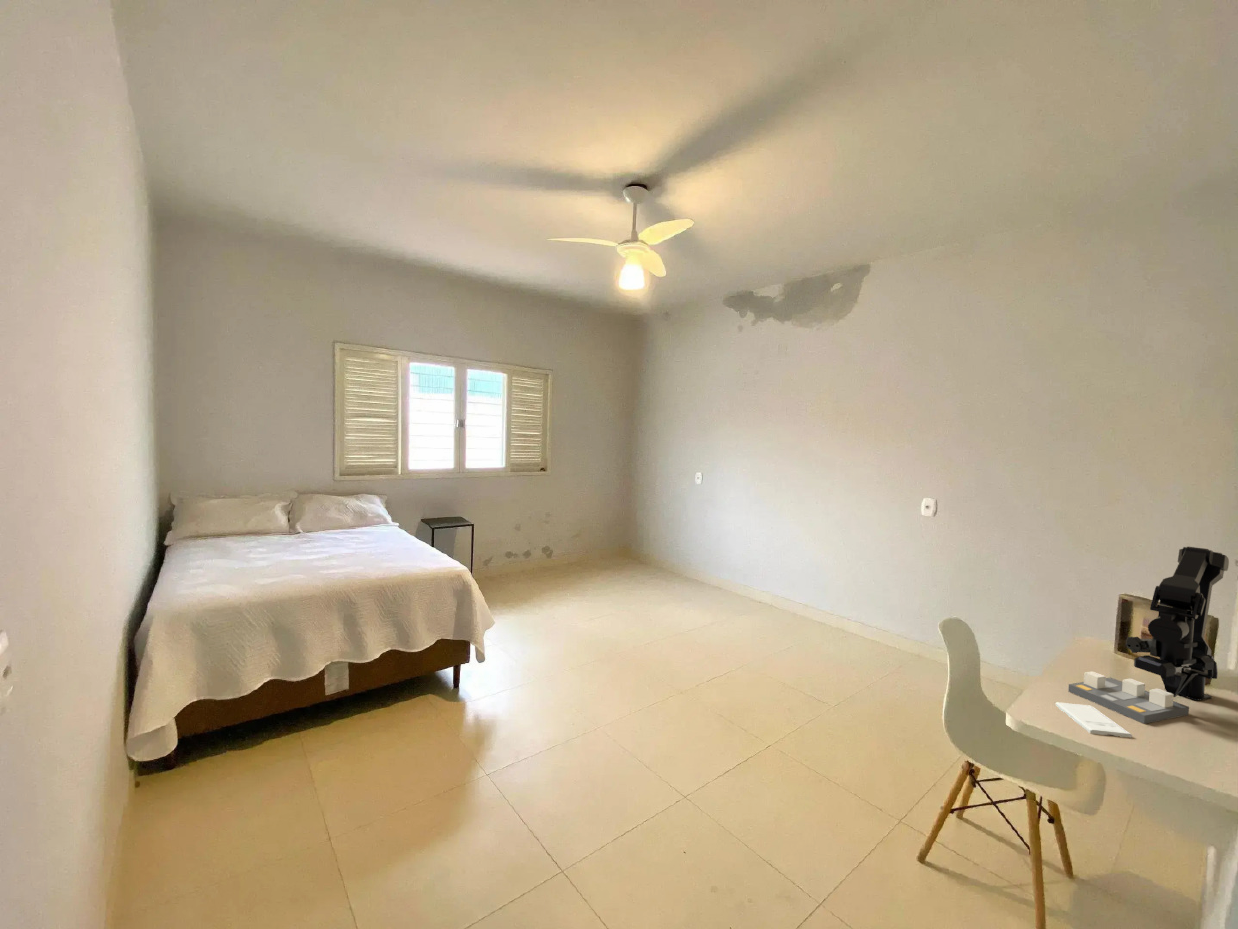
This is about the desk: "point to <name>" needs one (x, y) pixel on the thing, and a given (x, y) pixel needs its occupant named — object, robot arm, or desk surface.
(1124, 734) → the external hard drive
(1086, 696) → the switch panel
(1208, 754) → the desk surface
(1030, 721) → the desk surface
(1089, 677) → the tab
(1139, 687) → the tab
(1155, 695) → the tab
